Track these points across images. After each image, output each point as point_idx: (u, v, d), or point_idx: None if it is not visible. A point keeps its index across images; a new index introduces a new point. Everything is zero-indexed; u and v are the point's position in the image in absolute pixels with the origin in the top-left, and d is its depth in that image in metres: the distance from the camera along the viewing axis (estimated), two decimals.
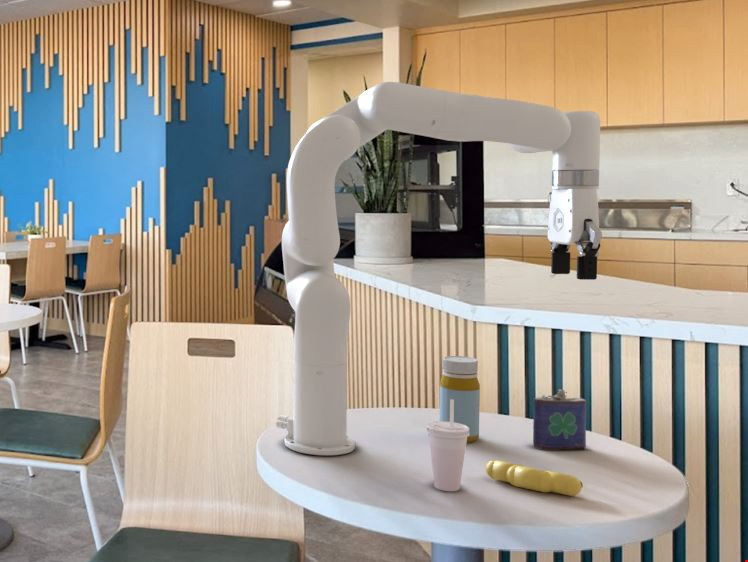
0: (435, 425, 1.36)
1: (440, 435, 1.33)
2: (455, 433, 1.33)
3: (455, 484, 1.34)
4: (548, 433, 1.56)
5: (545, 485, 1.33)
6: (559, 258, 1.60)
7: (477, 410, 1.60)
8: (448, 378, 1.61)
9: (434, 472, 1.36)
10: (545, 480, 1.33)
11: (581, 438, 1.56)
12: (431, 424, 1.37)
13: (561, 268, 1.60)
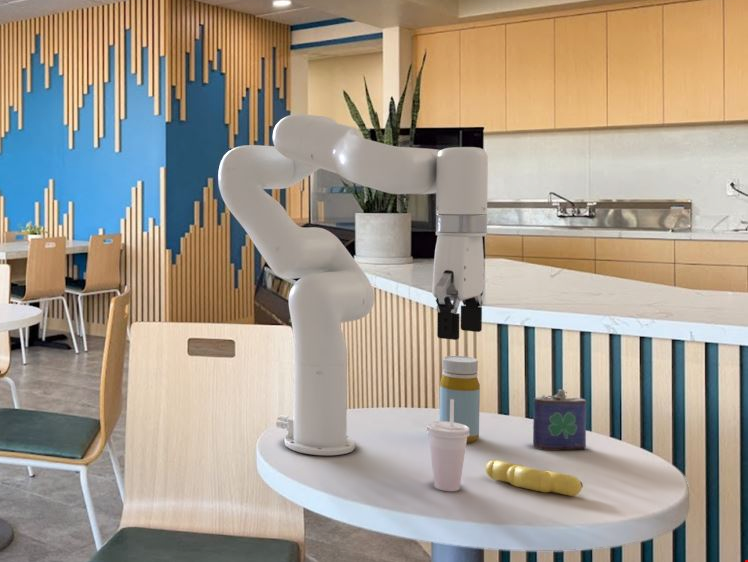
0: (435, 425, 1.36)
1: (440, 435, 1.33)
2: (455, 433, 1.33)
3: (455, 484, 1.34)
4: (548, 433, 1.56)
5: (545, 485, 1.33)
6: (467, 313, 1.40)
7: (477, 410, 1.60)
8: (448, 378, 1.61)
9: (434, 472, 1.36)
10: (545, 480, 1.33)
11: (581, 438, 1.56)
12: (431, 424, 1.37)
13: (469, 324, 1.40)
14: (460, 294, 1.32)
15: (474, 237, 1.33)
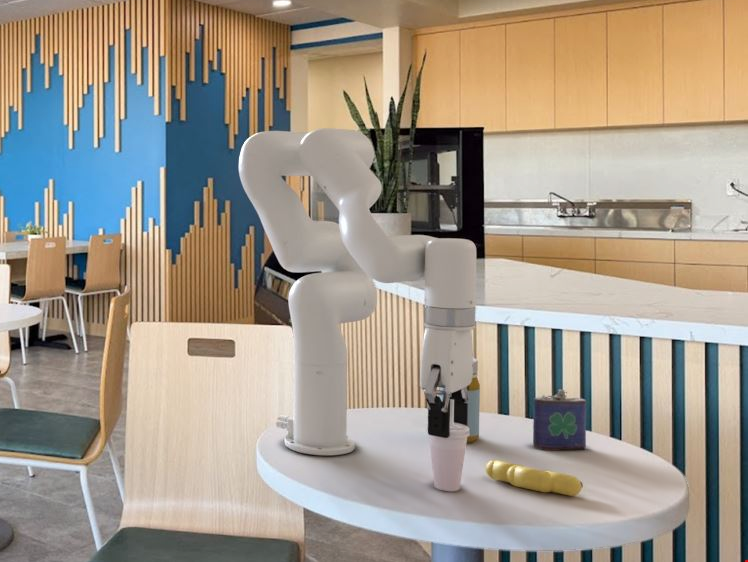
0: None
1: None
2: (455, 433, 1.33)
3: (455, 484, 1.34)
4: (548, 433, 1.56)
5: (545, 485, 1.33)
6: None
7: (477, 410, 1.60)
8: None
9: (434, 472, 1.36)
10: (545, 480, 1.33)
11: (581, 438, 1.56)
12: None
13: (455, 420, 1.38)
14: (447, 389, 1.31)
15: (462, 330, 1.33)
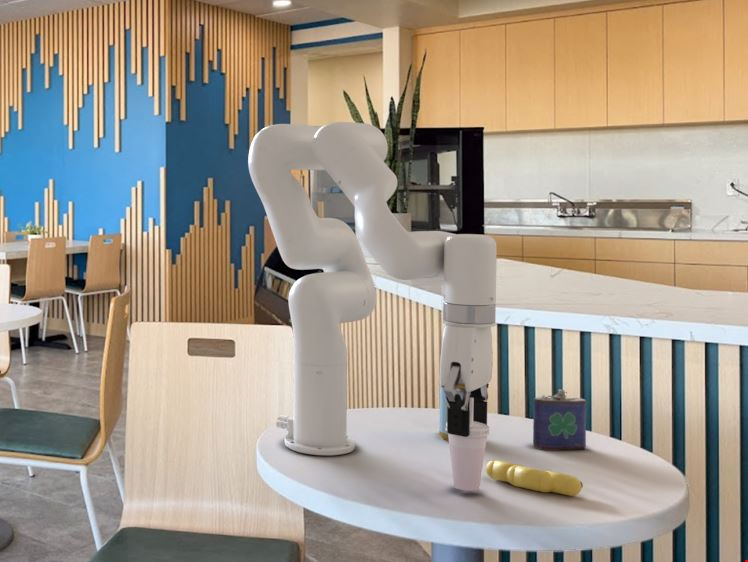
0: None
1: None
2: (475, 432, 1.31)
3: (475, 484, 1.32)
4: (548, 433, 1.56)
5: (545, 485, 1.33)
6: None
7: None
8: None
9: (453, 471, 1.34)
10: (545, 480, 1.33)
11: (581, 438, 1.56)
12: None
13: (474, 419, 1.36)
14: (467, 387, 1.29)
15: (482, 327, 1.31)
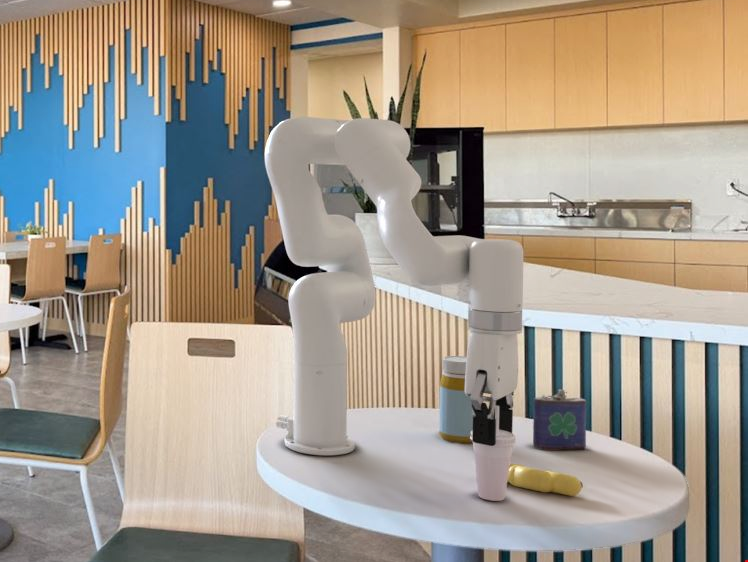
0: None
1: None
2: (501, 441, 1.28)
3: (501, 494, 1.30)
4: (548, 433, 1.56)
5: (545, 485, 1.33)
6: None
7: None
8: (448, 378, 1.61)
9: (478, 481, 1.31)
10: (545, 480, 1.33)
11: (581, 438, 1.56)
12: None
13: (499, 427, 1.34)
14: (494, 395, 1.26)
15: (509, 334, 1.28)
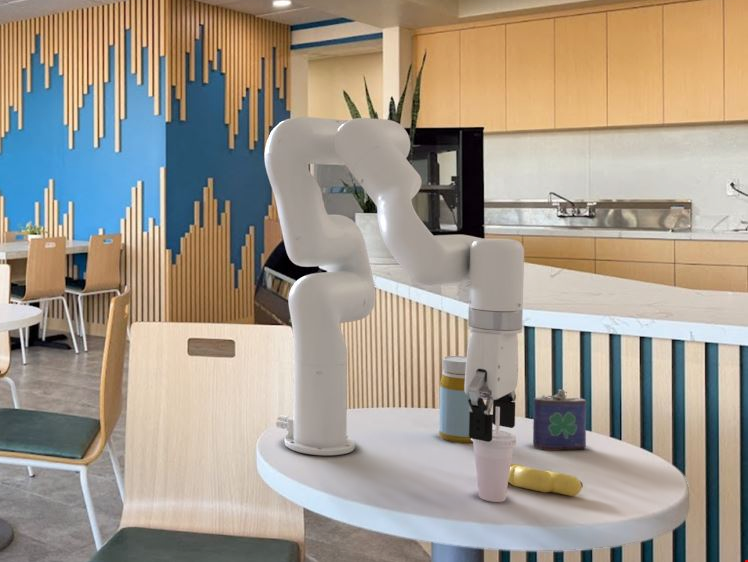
0: None
1: (486, 444, 1.29)
2: (502, 442, 1.28)
3: (502, 495, 1.30)
4: (548, 433, 1.56)
5: (545, 485, 1.33)
6: (500, 407, 1.35)
7: None
8: (448, 378, 1.61)
9: (479, 482, 1.31)
10: (545, 480, 1.33)
11: (581, 438, 1.56)
12: None
13: (502, 420, 1.35)
14: (494, 394, 1.26)
15: (509, 334, 1.28)
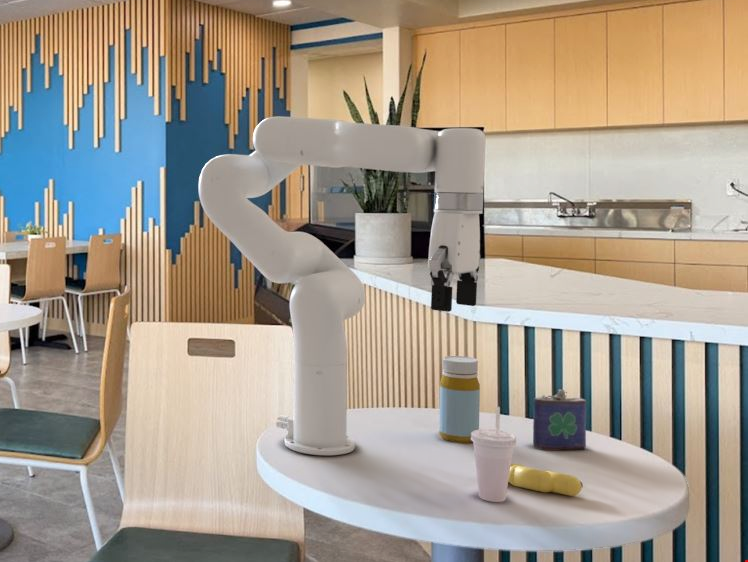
0: (480, 433, 1.32)
1: (486, 444, 1.29)
2: (502, 442, 1.28)
3: (502, 495, 1.30)
4: (548, 433, 1.56)
5: (545, 485, 1.33)
6: (463, 287, 1.46)
7: (477, 410, 1.60)
8: (448, 378, 1.61)
9: (479, 482, 1.31)
10: (545, 480, 1.33)
11: (581, 438, 1.56)
12: (475, 432, 1.33)
13: (464, 299, 1.46)
14: (453, 268, 1.38)
15: (470, 214, 1.40)
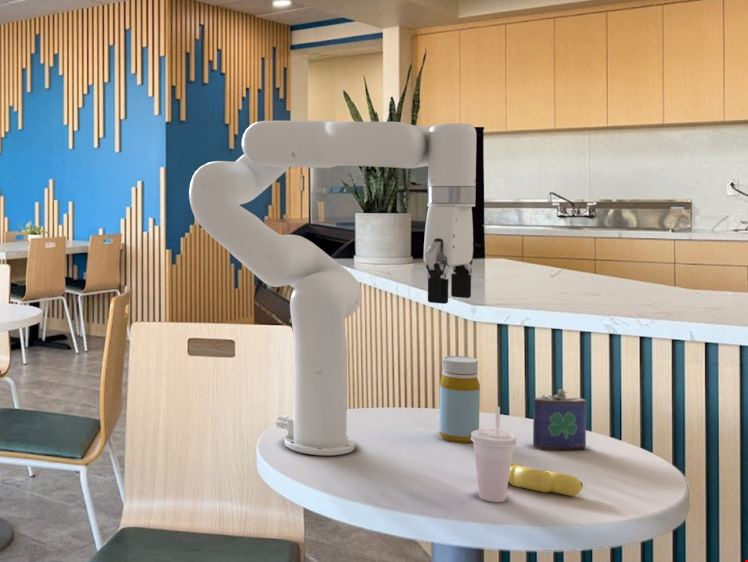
0: (480, 433, 1.32)
1: (486, 444, 1.29)
2: (502, 442, 1.28)
3: (502, 495, 1.30)
4: (548, 433, 1.56)
5: (545, 485, 1.33)
6: (457, 280, 1.49)
7: (477, 410, 1.60)
8: (448, 378, 1.61)
9: (479, 482, 1.31)
10: (545, 480, 1.33)
11: (581, 438, 1.56)
12: (475, 432, 1.33)
13: (459, 291, 1.48)
14: (449, 261, 1.40)
15: (463, 208, 1.42)
